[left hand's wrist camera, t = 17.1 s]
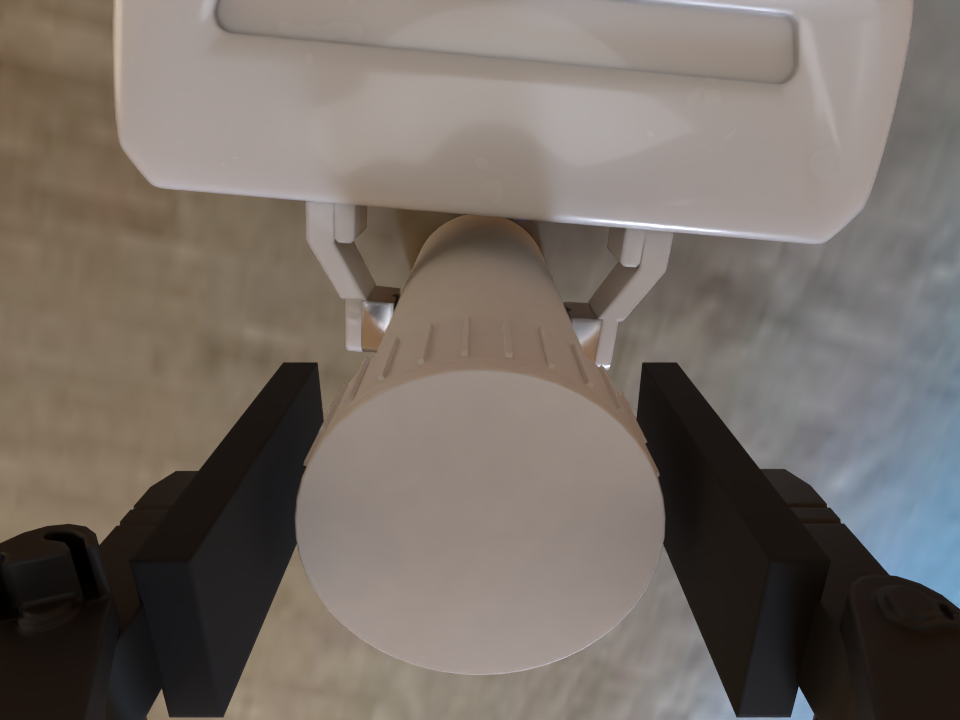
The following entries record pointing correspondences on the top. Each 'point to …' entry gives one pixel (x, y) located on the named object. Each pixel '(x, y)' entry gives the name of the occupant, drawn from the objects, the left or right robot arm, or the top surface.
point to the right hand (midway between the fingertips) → (479, 355)
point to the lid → (480, 500)
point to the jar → (480, 280)
